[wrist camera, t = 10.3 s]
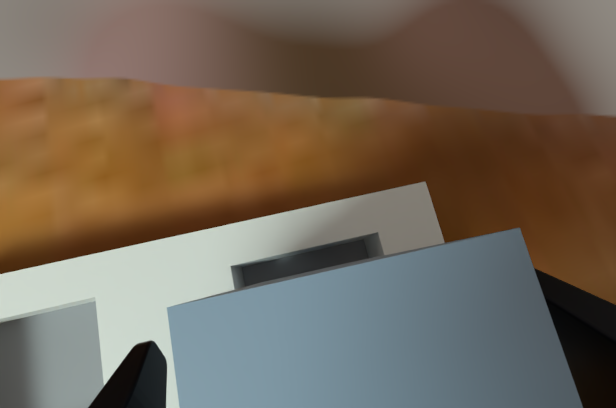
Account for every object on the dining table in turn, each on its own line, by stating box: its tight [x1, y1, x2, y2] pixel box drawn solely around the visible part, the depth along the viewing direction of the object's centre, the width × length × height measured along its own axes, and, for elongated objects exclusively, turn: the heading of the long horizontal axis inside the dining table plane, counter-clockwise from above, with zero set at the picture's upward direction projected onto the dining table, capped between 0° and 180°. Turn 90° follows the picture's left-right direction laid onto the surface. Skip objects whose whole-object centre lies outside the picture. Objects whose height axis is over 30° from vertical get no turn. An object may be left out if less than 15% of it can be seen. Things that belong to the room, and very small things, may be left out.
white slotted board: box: [0, 181, 445, 408], centre depth 15 cm, size 10×24×4 cm, turn 103°
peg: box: [167, 228, 583, 408], centre depth 10 cm, size 4×4×13 cm
